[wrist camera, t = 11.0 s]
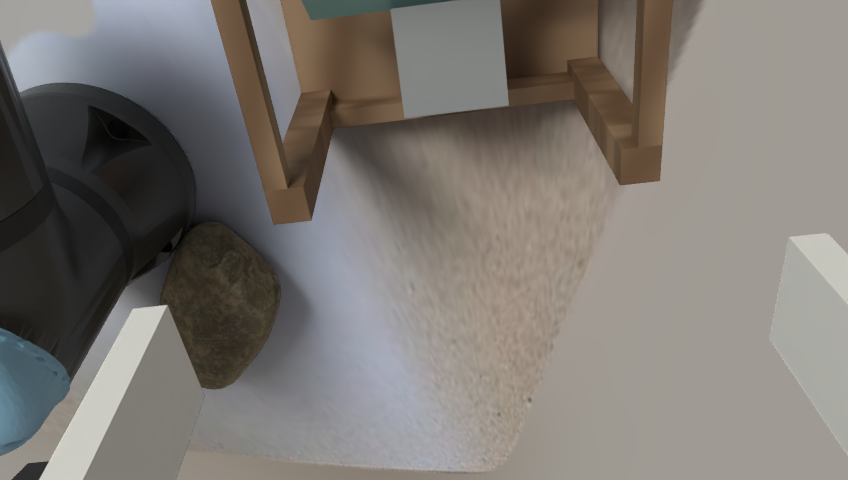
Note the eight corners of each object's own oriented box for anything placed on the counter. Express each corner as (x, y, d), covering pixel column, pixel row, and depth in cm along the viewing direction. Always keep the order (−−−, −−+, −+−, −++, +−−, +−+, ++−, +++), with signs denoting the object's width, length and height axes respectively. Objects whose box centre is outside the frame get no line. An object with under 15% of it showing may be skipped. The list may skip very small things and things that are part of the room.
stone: (305, 235, 53) (276, 358, 48) (264, 296, 64) (238, 401, 59) (191, 199, 50) (147, 326, 45) (170, 269, 62) (134, 377, 57)
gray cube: (396, 12, 43) (408, 107, 45) (390, 8, 38) (404, 118, 39) (491, -1, 43) (499, 96, 45) (499, -6, 37) (508, 105, 39)
